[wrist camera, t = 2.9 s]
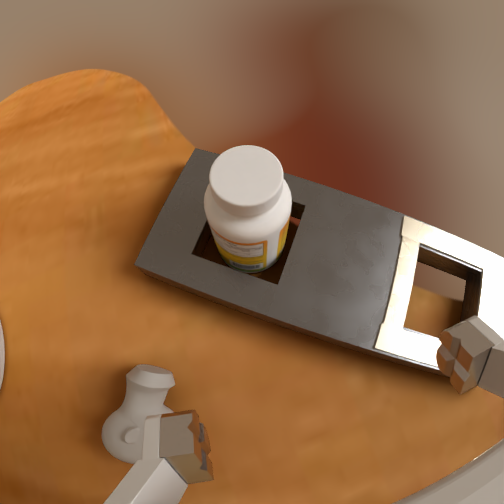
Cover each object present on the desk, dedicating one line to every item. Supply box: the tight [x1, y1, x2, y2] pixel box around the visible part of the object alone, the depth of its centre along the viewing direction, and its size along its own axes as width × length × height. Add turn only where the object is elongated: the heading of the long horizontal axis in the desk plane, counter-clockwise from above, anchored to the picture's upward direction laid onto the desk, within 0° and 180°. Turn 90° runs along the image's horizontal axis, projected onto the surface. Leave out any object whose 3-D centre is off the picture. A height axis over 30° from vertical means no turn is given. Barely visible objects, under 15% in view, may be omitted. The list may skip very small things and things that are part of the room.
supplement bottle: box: [204, 145, 292, 273], centre depth 22 cm, size 5×5×10 cm
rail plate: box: [134, 148, 504, 378], centre depth 24 cm, size 30×11×3 cm, turn 69°
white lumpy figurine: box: [102, 364, 175, 464], centre depth 20 cm, size 4×8×5 cm
